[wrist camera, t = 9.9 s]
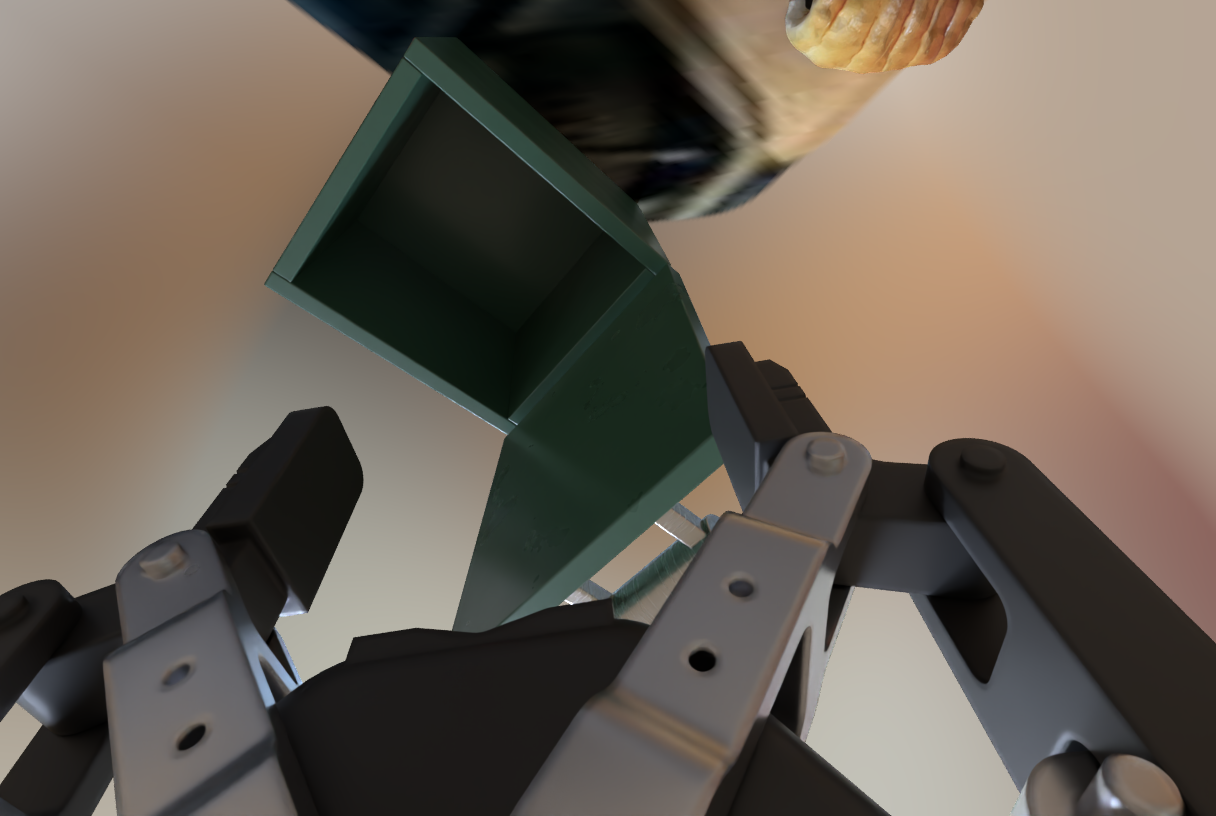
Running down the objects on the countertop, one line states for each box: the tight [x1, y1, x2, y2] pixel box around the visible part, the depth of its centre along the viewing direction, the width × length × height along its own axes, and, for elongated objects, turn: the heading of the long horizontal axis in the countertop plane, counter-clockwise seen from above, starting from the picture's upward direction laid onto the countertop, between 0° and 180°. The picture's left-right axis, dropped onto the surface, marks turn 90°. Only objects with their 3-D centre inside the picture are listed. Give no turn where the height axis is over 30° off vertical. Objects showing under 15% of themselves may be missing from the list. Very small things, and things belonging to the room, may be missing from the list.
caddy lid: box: [452, 264, 724, 633], centre depth 22 cm, size 13×12×5 cm
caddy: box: [264, 37, 671, 435], centre depth 29 cm, size 13×12×11 cm
